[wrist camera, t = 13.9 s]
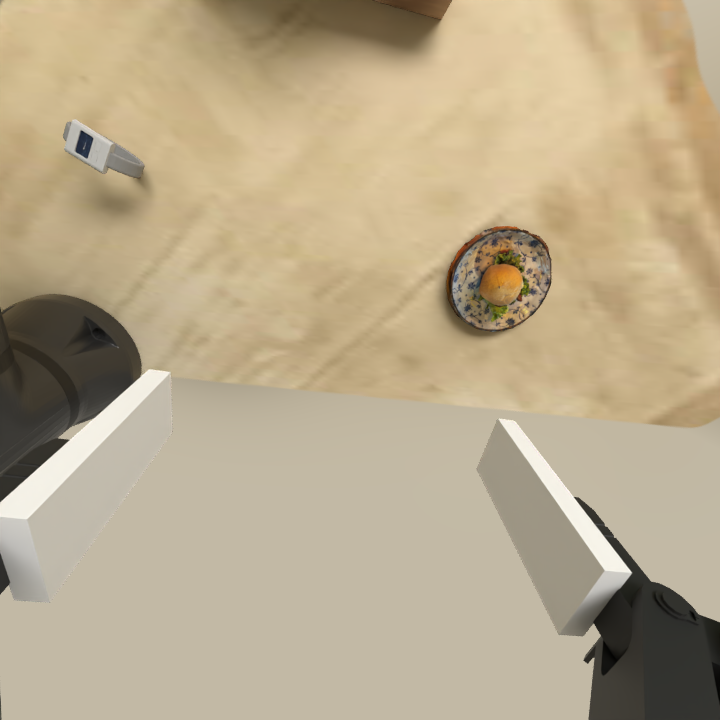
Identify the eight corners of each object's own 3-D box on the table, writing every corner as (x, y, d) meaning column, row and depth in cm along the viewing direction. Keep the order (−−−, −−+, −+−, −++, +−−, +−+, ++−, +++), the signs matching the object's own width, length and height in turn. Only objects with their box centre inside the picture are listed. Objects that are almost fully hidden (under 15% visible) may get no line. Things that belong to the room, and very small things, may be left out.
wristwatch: (157, 160, 35) (129, 154, 30) (147, 186, 36) (119, 184, 31) (92, 118, 33) (52, 106, 29) (84, 147, 34) (44, 139, 29)
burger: (497, 343, 45) (524, 369, 38) (425, 294, 42) (441, 312, 35) (566, 264, 41) (610, 276, 34) (493, 202, 38) (526, 203, 31)
